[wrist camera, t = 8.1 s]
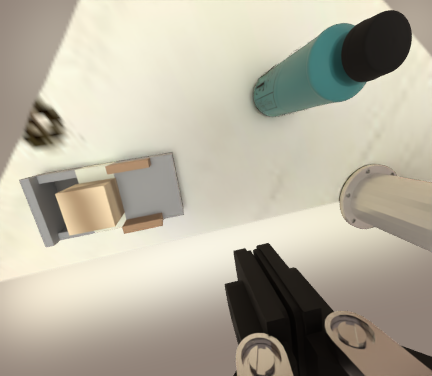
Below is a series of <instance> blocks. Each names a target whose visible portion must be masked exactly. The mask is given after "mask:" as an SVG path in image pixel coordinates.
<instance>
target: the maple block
mask: <svg viewBox="0 0 432 376" xmlns="http://www.w3.org/2000/svg"><path fill="white" fill-rule="evenodd" d="M55 195H56V198H57V201H58V204H59V207H60V210H61V212H62V215H63V218H64V221H65V224H66V227H67V230H68V233H69V236H70V235H75V234H80V233H85V232H90V231H96V230H101V229H106V228H111V227H115V226H116V225H117V223H118V222H119V220H120V219H121V217H122V216H123V214H124V213H125V211H124V208H123V204H122V200H121V196H120V192H119V189H118V185H117V181H116V178H111V179H105V180H99V181H93V182H87V183H81V184H75V185H73V186H71V187H69V188H67V189H65V190H63V191H60V192H58V193H56V194H55Z"/></svg>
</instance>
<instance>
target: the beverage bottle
mask: <svg viewBox="0 0 432 376" xmlns="http://www.w3.org/2000/svg"><path fill="white" fill-rule="evenodd" d="M411 41H412V32H411V27H410V24H409V22H408V20H407V19H406V17H405V16H404V15H403V14H401V13H400V12H398V11H394V10H389V11H384V12H381V13H379V14H377V15H375V16H373V17H371V18H369V19H366V20H364V21H362V22H360V23H359V24H357V25H356V26H354V25H352V24H347V23H341V24H336V25H333V26H331V27H329V28H327V29H326V30H324V31H323V32H322V33H321V34H320V35H319V36H318V37H316V38H315V39H313V40H312V41H311V42H309V43H308V44H307V45H305V46H304V47H302V48H301V49H299V50H298V51H296V50H295V51H296V52H295V53H294V54H292V53H291V54H292V55H291V54H290V55H291V56H290V55H289V56H288V58H287V59H285V60H284V61H282V62H281V63H280V64H279V63H278V65H277V66H276V67H274V66H273V69H272V68H271V69H270V70H269V71H268V72H267V73H266V72H265V74H264V75H263V76H262V75H261V76H260V77H261V78H259V80H257V81H258V82H257V84H255V85H256V86H255V87H254V88H255V89H254V93H253V94H254V102H255V105H256V107H257V108H258V110H259V111H260V112H262V113H263V114H265V115H267V116H275V117H276V116H279V115H282V116H283V115H285V114H287V113H288V114H289V113H292V112H296V111H300V110H305V109H307V108H308V109H309V108H311V107H316V106H320V105H325V104H329V103H334V102H342V101H346V100H348V99H350V98H352V97H353V96H355V95H356V94H357V93H358V92H359V91H360V90H361V89H362V88H363V87H364V85H365V84H366V82H367V81H371V80H374V79H376V78H378V77H380V76H383V75H385V74H388V73H390V72H392V71H394V70H395V69H397V68H398V67H399V66H400V65H401V64H402V63H403V62H404V60H405V59H406V57H407V55H408V53H409V50H410V47H411ZM300 47H301V46H300ZM292 114H293V113H292Z"/></svg>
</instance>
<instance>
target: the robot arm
mask: <svg viewBox="0 0 432 376" xmlns="http://www.w3.org/2000/svg"><path fill="white" fill-rule="evenodd" d="M340 210H341V213H342V216H343V218H344V219H345V220H346V222H348V223H349V224H350V225H352V226H354V227H357V228H360V229H369V228H373V227H377V228H379V229H381V230H383V231H385V232H388V233H390V234H392V235H394V236H397V237H399V238H401V239H404V240H406V241H408V242H410V243H413V244H415V245H417V246H419V247H421V248H424V249H426V250H428V251H430V252H432V182H427V181H421V180H415V179H409V178H404V177H398V176H397V175H396V173H395V172H394V171H393V170H392V169H391V168H389V167H387V166H384V165H377V164H373V165H368V166H364V167H362V168H360V169H359V170H357V171H356V172H355V173H353V175H352V176H351V177H350V178H349V179H348V180H347V182H346V183H345V185H344V187H343V189H342V192H341V196H340ZM253 253H254V255H253V254H252V252H251V251H247V250H246V249H245V248H244V249H240V250H236V251H234V259H235V265H236V271H237V278H238V281H235V282H231V283H227V284H225V290H226V296H227V301H228V306H229V310H230V315H231V319H232V323H233V327H234V331H235V334H236V338H237V342H238V348H237V351H236V366H237V367H236V368H237V370H236V373H235V374H234V376H432V357H431V356H428V355H425V354H422V353H420V352H417V351H414V350H411V349H409V348H406V347H403V346H400V345H399V344H398V343H396V342H395V341H394V340H392V339H391V338H390V337H389V336H388V335H387V334H385V333H384V332H383V331H382V330H380V329H379V328H378V327H377V326H375V325H374V324H373V323H372V322H370V321H369V320H367V319H366V318H364V317H363V316H360V315H358V314H356V313H353V312H349V311H336V312H334V311H333V310H332V309H331V308H330V307H329V305H328V304H327V303H326V302H325V301H324V300H323V298H322V297H321V296H320V295H319V294H318V293H317V292H316V290H315V289H314V288H313V287H312V286H311V285H310V284H309V282H308V281H307V280H306V279H305V278H304V277H303V276H302V274H301V273H300V272H299V271H298V270H297V269H296V268H289V267H288V266H287V265H286V264H285V262H284V261H283V260H282V259H281V258H280V256H279V255H278V254H277V253H276V251H275V250H274V249H273V248H272V246H271V245H270V244H269V243H266V244H262V245H258V246H257V249H254V250H253Z"/></svg>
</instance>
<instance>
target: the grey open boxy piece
mask: <svg viewBox="0 0 432 376" xmlns="http://www.w3.org/2000/svg"><path fill="white" fill-rule="evenodd" d="M111 178H116V181H117V185H118V189H119V192H120V196H121V200H122V204H123V208H124V211H125V213H124V214H123V216H122V217H121V219H120V220H119V222H118V223H117V225H116V226H115V227H111V228H106V229H101V230H96V231H90V232H85V233H80V234H75V235H70V236H69V233H68V230H67V227H66V224H65V221H64V218H63V215H62V212H61V210H60V207H59V204H58V201H57V198H56V195H55V194H56V193H58V192H60V191H63V190H65V189H67V188H69V187H71V186H73V185H75V184H81V183H87V182H93V181H99V180H105V179H111ZM19 181H20V184H21V186H22V189H23V191H24V194H25V196H26V199H27V201H28V204H29V206H30V209H31V211H32V214H33V216H34V219H35V222H36V224H37V227H38V229H39V232H40V234H41V237H42V239H43V242H44V244H45V247H50V246H54V245H55V244H57V243H58V242H59V241H60V240H64V239H69V238H74V237H78V236H83V235H88V234H93V233H98V232H102V231H107V230H112V229H117V228H123V231H124V234H125V233H130V232H135V231H140V230H144V229H149V228H154V227H158V226H163V219H165V218H170V217H175V216H180V215H184V212H183V205H182V200H181V195H180V190H179V185H178V180H177V175H176V170H175V165H174V160H173V155H172V153H165V154H159V155H153V156H147V157H141V158H135V159H129V160H123V161H116V162H110V163H104V164H98V165H92V166H86V167H80V168H73V169H67V170H61V171H55V172H49V173H43V174H40V175H36V176H32V177H28V178H25V179H21V180H19Z"/></svg>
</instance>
